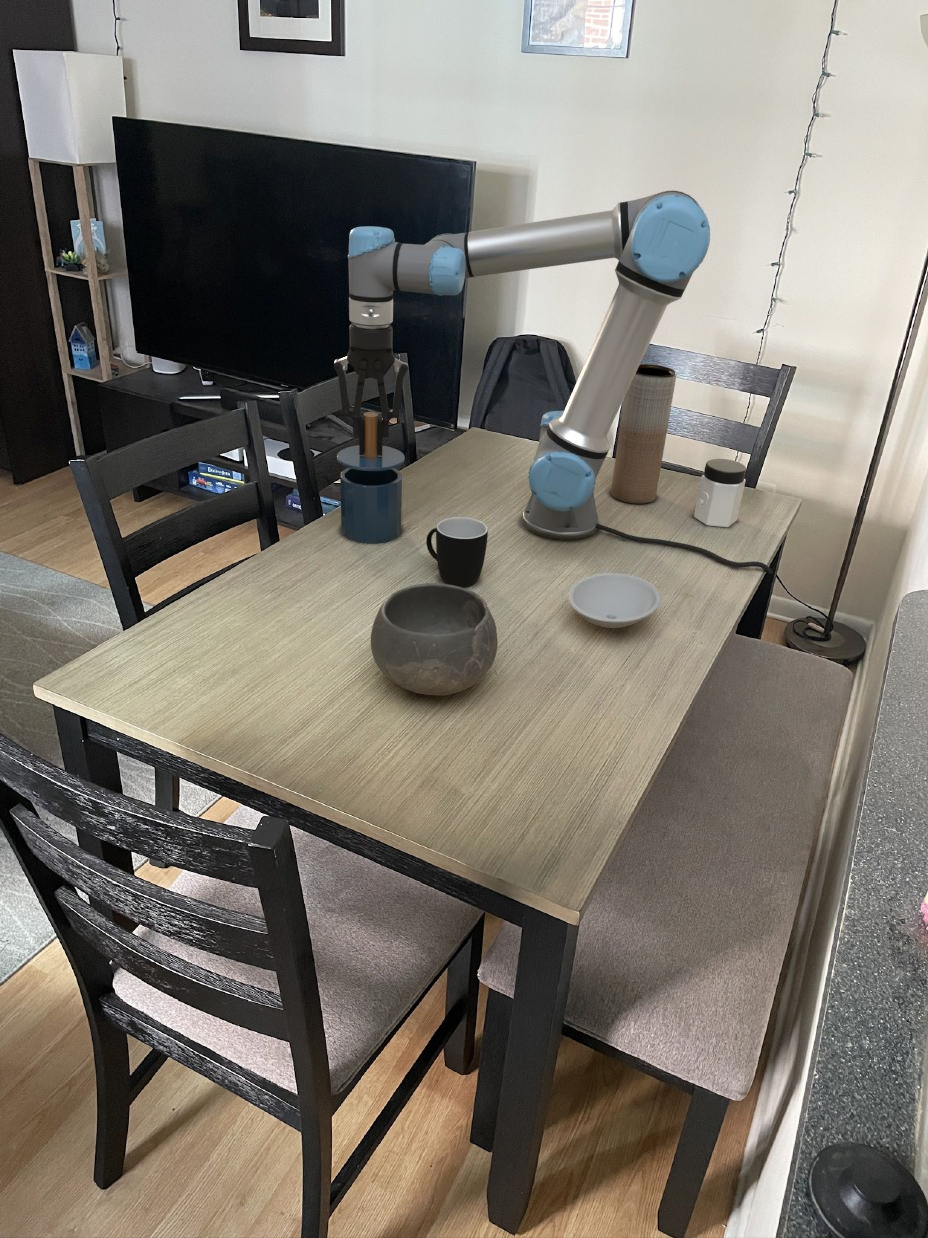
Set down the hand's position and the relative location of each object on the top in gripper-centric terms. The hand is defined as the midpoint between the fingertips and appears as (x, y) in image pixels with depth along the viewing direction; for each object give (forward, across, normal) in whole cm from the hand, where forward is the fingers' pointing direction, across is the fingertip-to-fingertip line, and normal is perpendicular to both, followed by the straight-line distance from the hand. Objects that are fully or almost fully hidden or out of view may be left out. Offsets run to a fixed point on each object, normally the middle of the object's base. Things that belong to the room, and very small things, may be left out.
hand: (370, 452), depth 167 cm
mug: (+16, +15, -19) cm, 29 cm away
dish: (+16, +40, -35) cm, 56 cm away
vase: (+16, +57, +20) cm, 63 cm away
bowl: (+16, +10, -52) cm, 56 cm away
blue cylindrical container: (+16, 0, 0) cm, 16 cm away
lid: (+1, 0, 0) cm, 1 cm away
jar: (+16, +72, +8) cm, 74 cm away
